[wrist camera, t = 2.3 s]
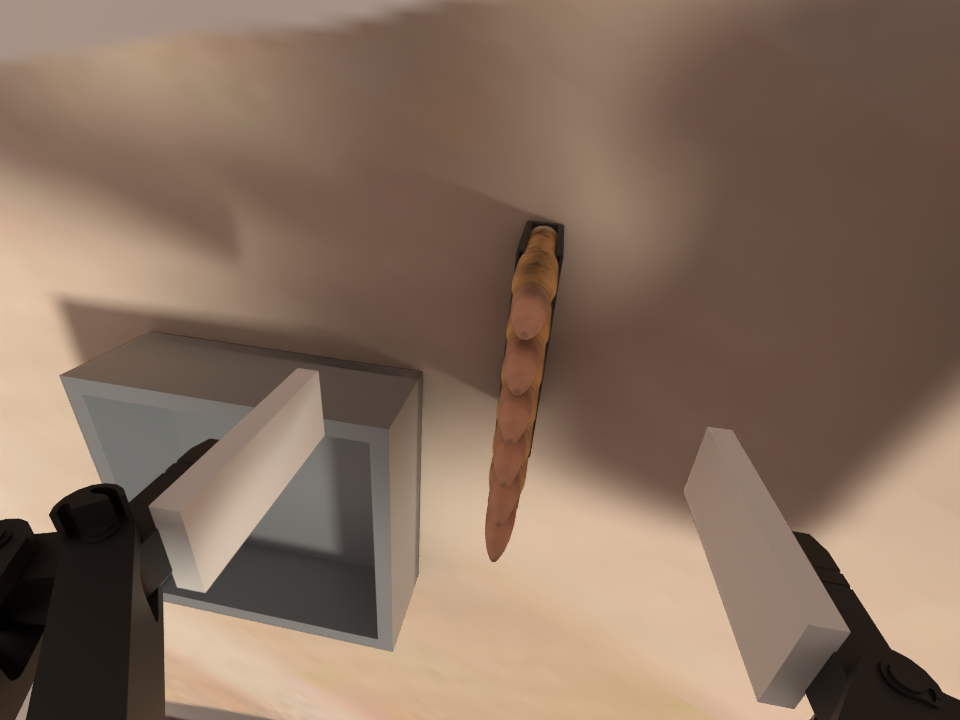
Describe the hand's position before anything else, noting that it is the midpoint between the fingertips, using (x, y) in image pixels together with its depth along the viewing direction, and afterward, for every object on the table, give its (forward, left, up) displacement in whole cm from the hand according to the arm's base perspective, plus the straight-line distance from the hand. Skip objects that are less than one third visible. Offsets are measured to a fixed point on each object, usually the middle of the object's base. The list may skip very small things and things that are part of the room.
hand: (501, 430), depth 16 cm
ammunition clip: (0, 0, -11) cm, 11 cm away
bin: (+15, +13, -10) cm, 22 cm away
